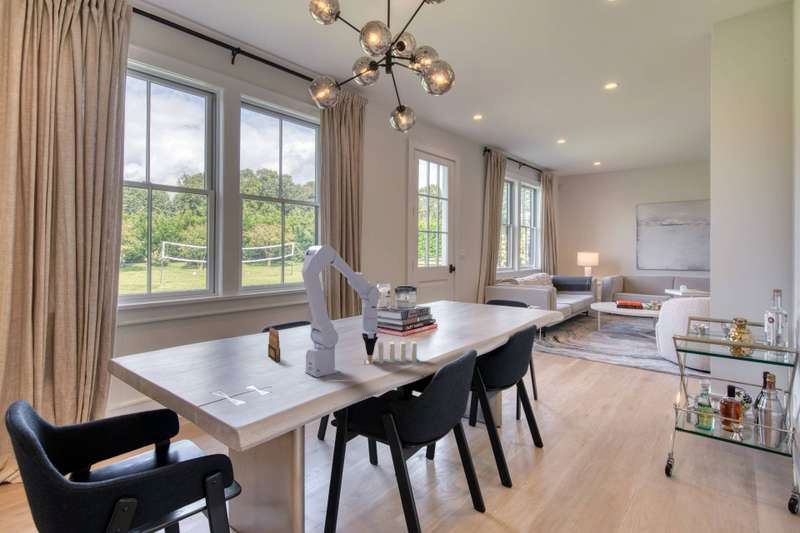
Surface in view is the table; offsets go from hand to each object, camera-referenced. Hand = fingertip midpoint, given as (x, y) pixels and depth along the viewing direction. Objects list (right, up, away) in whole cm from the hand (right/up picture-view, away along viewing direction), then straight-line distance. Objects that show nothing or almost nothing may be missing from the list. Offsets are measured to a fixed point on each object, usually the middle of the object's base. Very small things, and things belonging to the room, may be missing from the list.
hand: (369, 353), depth 154 cm
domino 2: (+8, -3, +1) cm, 9 cm away
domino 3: (+13, -3, +2) cm, 13 cm away
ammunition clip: (-38, -4, +5) cm, 38 cm away
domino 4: (+17, -3, +2) cm, 17 cm away
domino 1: (+4, -3, +1) cm, 5 cm away
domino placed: (0, -2, 0) cm, 2 cm away
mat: (+8, -4, +1) cm, 9 cm away
